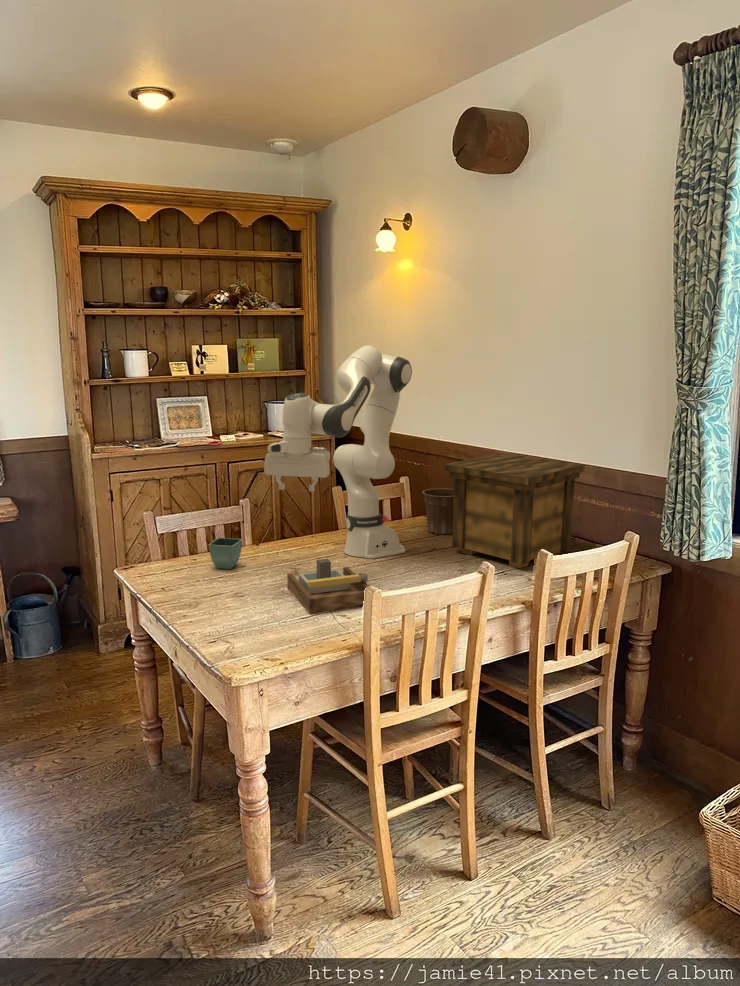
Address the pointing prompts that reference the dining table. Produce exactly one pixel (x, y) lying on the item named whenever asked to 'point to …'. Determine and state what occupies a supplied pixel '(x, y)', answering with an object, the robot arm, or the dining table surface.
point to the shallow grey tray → (322, 577)
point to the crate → (513, 506)
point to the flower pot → (225, 552)
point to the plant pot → (439, 510)
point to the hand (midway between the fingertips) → (296, 490)
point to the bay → (328, 596)
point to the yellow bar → (338, 580)
